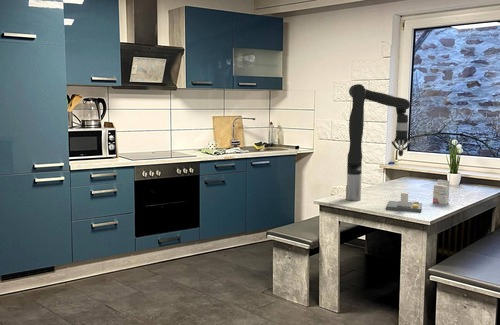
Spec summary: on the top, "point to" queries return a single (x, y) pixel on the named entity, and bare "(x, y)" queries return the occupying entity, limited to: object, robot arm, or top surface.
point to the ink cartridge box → (441, 192)
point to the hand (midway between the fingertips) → (400, 156)
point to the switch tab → (404, 199)
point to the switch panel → (411, 207)
